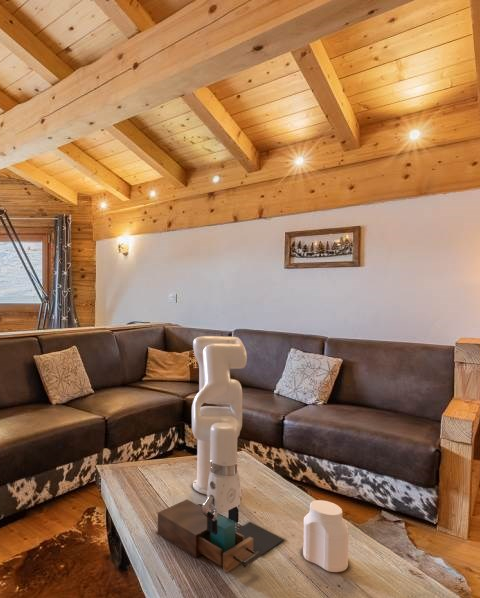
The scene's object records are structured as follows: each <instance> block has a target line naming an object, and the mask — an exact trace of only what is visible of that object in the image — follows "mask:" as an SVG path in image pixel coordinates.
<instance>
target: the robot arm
mask: <svg viewBox="0 0 480 598" xmlns="http://www.w3.org/2000/svg"><path fill="white" fill-rule="evenodd" d="M192 349H193V353H194V356H195V358H196V361H197V363H198V369H199V370H198V371H199V373H198V374H199V375H198V376H199V377H198V383H199V384H198V387H199V388H198V390H199V391H198V392H197V393H196V394H195V397H194V398H193V400H192V404H191V432H192V434H193V437H194V438H195V439H196V441H197V443H196V451H197V452H196V458H197V460H196V479H194V480H193V482H192V488H193V490H195V491H196V492H198V493H200V494H203V495H206V500H205V502H204V503H203V504H202V506H201V507H202V509H203V512H204V515H205V516H206V517H207V530H208V531H209V532H211V533H213V534H215V535H216V534H217V520H216V518H217V516H219V514H224V513H227V519H229V520H231V521H233V522H235V524H238V523H239V521H240V520H239V518H240V517H239V513H240V511H239V509H240V508H241V505H240V504H241V501H242V496H243V492H244V490H243V489H242V488H241V480H240V473H239V471H238V438H239V437H240V434H241V430H242V427H243V388H242V384H241V383H240V381H239V380H238V379H235V378H234V379H233V378H231V371H230V370H231V369H233V370H234V369H237V370H239V369H240V370H241V369H244V368H245V367H246V366H247V362H248V354H247V350H246V347H245V345H244V343H243V341H242V340H241V338H240V337H237V336H221V335H203V336H202V335H201V336H197V337H195V338H194V339H193V342H192ZM203 404H211V405H212V406H211V405H205V406H204V405H203ZM214 405H216V406H214ZM217 405H228V406H217ZM213 511H214V512H213ZM211 512H212V513H214V514H213V515H212V513H211Z"/></svg>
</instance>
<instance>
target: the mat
mask: <svg viewBox="0 0 480 598" xmlns="http://www.w3.org/2000/svg"><path fill="white" fill-rule="evenodd" d="M235 531H236V532H238V533H240V534H241V535H243V536H244V540H245V539H247V538H248V537H251V538H253V551H255V552H257V551H259V552H260V553H261V557H262V556H264V555H265V554H267V553H268V552H269V551H271V550H272V549H274V548H275V547H277V546H278V545H280V544H281V543H283V542H284V541H285V539H284V538H282V537H281V536H278V535H277V534H274V533H273V532H270V531H268V530H266V529H264V528H263V527H261V526H259V525H257V524H255V523H252V522H250V521H249V522H248V523H246V524H244V525H242V526H241V527H239V528H237V529H235Z"/></svg>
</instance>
